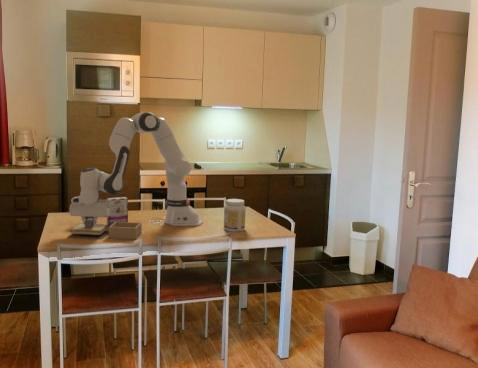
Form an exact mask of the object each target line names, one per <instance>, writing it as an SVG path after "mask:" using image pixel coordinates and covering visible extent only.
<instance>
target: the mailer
mask: <svg viewBox="0 0 478 368" xmlns="http://www.w3.org/2000/svg"><path fill="white" fill-rule="evenodd" d="M142 225H143V224H142V222H133V221H128V222H115V223H113V224H112V225H111V226H110V227H109V228H108V231H109V234H108V239H115V240H116V239H119V240H137V239H138V238H139V237H140V236H141V235H142V234H143V233H142V231H143V230H142Z"/></svg>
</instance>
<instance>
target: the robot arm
mask: <svg viewBox="0 0 478 368" xmlns="http://www.w3.org/2000/svg"><path fill="white" fill-rule="evenodd" d="M145 133H150V134H151V136H152V138H153V139H154V141H155V144H156V145H157V148H158V151H159V152H160V154H161V155H162V157H163V158H164V160H165V161H164V163H163V164H164V165H163V166H164V171H165V176H166V177H165V178H166V184H167V196H166V197H167V198H166V203H165V204H166V205H165V206H166V214H165V219H164V222H163V223H165V224H166V225H170V226H173V227H178V226H179V227H181V226H182V227H191V226H192V227H196V226H197V227H198V226H202V224H203V219H201V218H200V216H199V212H198V211H197V210H196V209H195V208H194V207H192V206H191V205H190V203H191V202H190V201H191V200H190V199H188V198H187V184H186V179H185V177H187V176H189V174H190V173H191V171H192V165H191V164H190V162H189V161H188V159H187V157H186V155H185V154H184V152H183V150H182V149H181V148H180V146H179V144H178V141H177V140H176V137H175V135H174V132H173V131H172V129H171V126H170V125H169V123H168V122H167V120H166V119H165V118H163V117H158V116H156V115H155V114H154V113H152V112H148V111H147V112H139V113H135V114H133V115H131V116H130V117H121V118H119V120H118V121H117V123H116V124H115V126H114V128H113V130H112V132H111V135H110V137H109V142H108V146H109V148H110V150H111V151H112V153H114V154H115V162H114V167H113V169H112V172H111V174H109V173H106V172H104V171H101V170H99V169H98V168H96V167H86V168H83V169H82V170H81V172H80V177H79V178H80V181H79V182H80V183H79V185H80V193H79V194H80V195H77V196H74V197H72V198H71V199H70V202H71V203H70V205H69V215H70V216H71V217H80V218H81V220H82V222H83V224H84V225H85V217H94V219H95V220H94V221H93V222H92V225H96V224H97V222H96V220H97V221H98V219H99V218H107V217H108V216H109V202H108V201H107V200H106V199H102V198H99V191H101V192H104V193H107V194H109V195H113V196H114V195H118V194H119V193H120V192H121V191H122V190H123V188H124V182H125V180H124V179H125V175H126V174H125V173H126V170H127V166H128V163H129V158H130V153H131V152H130V147H131V144H132V143H131V142H132V141H133V137H134V136H135V134H145ZM106 201H107V202H106Z"/></svg>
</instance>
